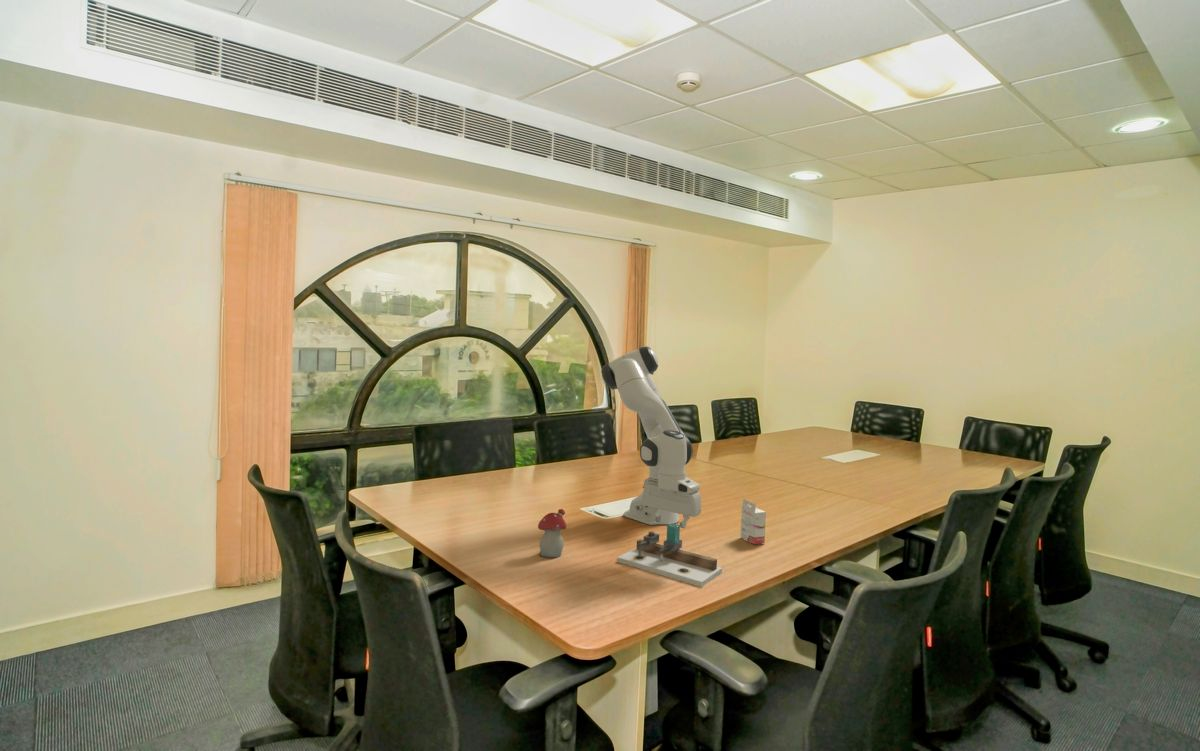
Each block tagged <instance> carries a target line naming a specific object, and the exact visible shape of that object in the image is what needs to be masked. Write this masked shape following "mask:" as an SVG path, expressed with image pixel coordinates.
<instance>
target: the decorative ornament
mask: <svg viewBox="0 0 1200 751" xmlns="http://www.w3.org/2000/svg"><path fill="white" fill-rule="evenodd" d="M565 511H566V510H564V509H563V508H560V509H558V510H557V512H548V513H547V514H546V515H544V516H543V517H542V518H541V520H539V522H538V524H537V528H538V529H539V530H540V531H544V534H543V535H542V536H541V538H540V541H539V550H540V551H539V555H540V557H543V558H547V559H548V558H549V559H550V558H558V557H560V556H561V555H562V554H563V553H562V552H563V549H564V547H565V544H564V538H563V537H562V535H561V531H562V530H566V529H567V524H566V521H565V519H564V518H563V516H564V515H565V514H566V512H565Z"/></svg>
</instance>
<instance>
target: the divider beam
mask: <svg viewBox="0 0 1200 751" xmlns="http://www.w3.org/2000/svg"><path fill="white" fill-rule="evenodd" d="M658 542H660V534H658V533H655V531H652V530H651V531H648V534H645V535H643V539H638V540H636V547H635V548H636V550H639V554H638V555H641V551H644V552H647V553H651V554H654V555H658V556H660V554H659V550H660V549H662V548H663V545H664V544H659V543H658ZM663 557H665V558H669V559H673V560H676V561H680V562H683V563H687V564H691V565H694V566H698V567H702V568H705V569H709V570H713V571H714V570H716V569H717V567H718V559H716V558H713V557H710V556H705V555H701V554H698V553H695V552H690V551H686V550H682V549H678V550H676V551H675V552H674V551H668V552H666V553H665V554H663Z"/></svg>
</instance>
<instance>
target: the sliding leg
mask: <svg viewBox="0 0 1200 751" xmlns="http://www.w3.org/2000/svg"><path fill="white" fill-rule="evenodd" d="M679 526H680V524H676V523H674V524H666V539H665V540H664V541H663V544H662V545H663V548H662V549H660V550H659V554H660V561H663V554H665V553H666V552H668V551H674V552H675V551H676V550H678V549H679V550H681V549H682V548H683V540H682V539H680V533H681V532H680V531H681V530H680V529H681V528H680V527H679Z"/></svg>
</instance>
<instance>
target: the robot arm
mask: <svg viewBox="0 0 1200 751" xmlns="http://www.w3.org/2000/svg"><path fill="white" fill-rule="evenodd" d="M658 367H659V359H658V356H657V354H656V352H655V351H654V350H653V349H651V347H649V346H647V345H645V346H641V347H639V348H638V349H635V350H631V351H629V352H626V353H624V354H622V355H621V356H619V357H617V358H616V359H614V360H612V361H611V362H606V363H605V364H604V365H603V366H602V368H601V370H600V372H601V380H602V381H603V383H604V384H605V385H606V386H607V388H608V389H610V390H617V392H618V395H619V397H620V399H621V402H622V403H623V405H624V406H625V408H627V409H628V410H630V411H632V412H634V413H637V414H638V416H639V419H640V422H641V424H642V427H643V431H644V433H645V434H646V437H647V438H646V439H644V440H643V441H642V442H641V445H640V448H639V456H640V459H641V461H642V462H643V463H644V464H645V466H647V467H649V470H648V478H646V479H644V481H643V485H642V489H643V491H642V493H640V494H639V495H637V496H636V497H634V498H633V499H632V500H631V502H630V505H629V509H626V510H625V511H624V512H623V517H625V518H628V519H632V520H635V521H636V522H641V523H642V524H646V525H650V526H653V525H654V526H655V525H669V524H676V523H677V524H678V522H679V525H680V526H679V527H680V529H686V528H687V522H688V521H689V519H691V517H692V518H696V517H698V516H700V514H701V513H702V496H701V493H700V492H699V491H700V489H701V485H700V483H698V482H696V481H695V480H693V479H691V478H690V477H688V476H687V472H686V465H687V464H689V462H690V460H691V459H692V457H693V454H694V447H693V444H692V443H691V441H690V440H689V437H687V435H685V433H684V432H683V430H682V429H681V427H680V425H679V423H678V421H677V420H676V418H675V416H674V415H673V413H672V411H671V410H670V408H669V406H668V404H667V403H666V401H664V399H663V398H662V395H661V392H660V391H659V389H658V387H657V385H656V382H655V381H654V379H653V378H652V376H653V375H654V373H655V372H656V371H657V370H658ZM651 375H652V376H651ZM679 515H682V518H683V520H682V521H680V517H679Z"/></svg>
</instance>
